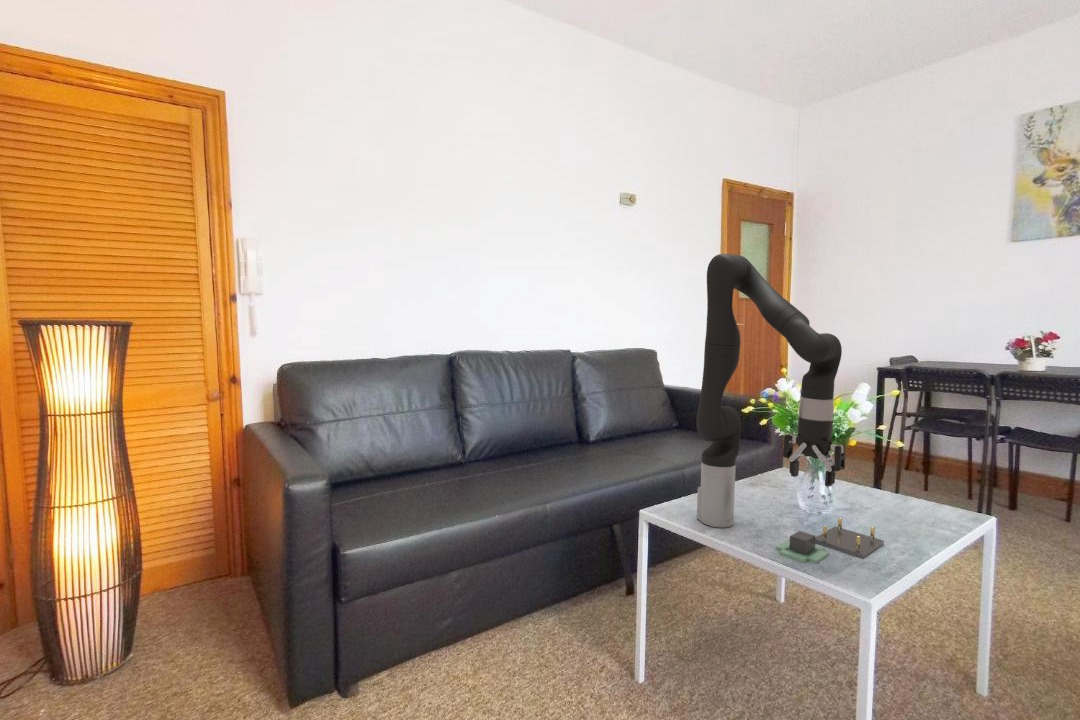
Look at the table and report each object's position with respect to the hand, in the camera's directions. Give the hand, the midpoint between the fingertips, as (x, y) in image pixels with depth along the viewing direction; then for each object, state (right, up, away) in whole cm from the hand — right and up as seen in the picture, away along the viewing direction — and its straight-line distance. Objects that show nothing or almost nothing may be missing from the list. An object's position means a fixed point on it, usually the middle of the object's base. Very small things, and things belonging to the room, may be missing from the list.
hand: (811, 480), depth 134 cm
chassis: (+13, -18, +8) cm, 24 cm away
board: (-1, -19, +2) cm, 19 cm away
